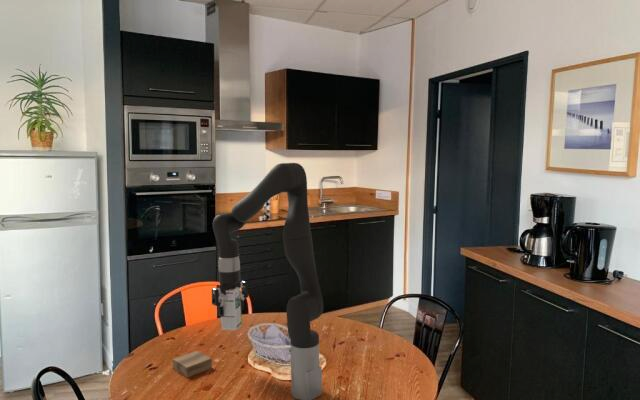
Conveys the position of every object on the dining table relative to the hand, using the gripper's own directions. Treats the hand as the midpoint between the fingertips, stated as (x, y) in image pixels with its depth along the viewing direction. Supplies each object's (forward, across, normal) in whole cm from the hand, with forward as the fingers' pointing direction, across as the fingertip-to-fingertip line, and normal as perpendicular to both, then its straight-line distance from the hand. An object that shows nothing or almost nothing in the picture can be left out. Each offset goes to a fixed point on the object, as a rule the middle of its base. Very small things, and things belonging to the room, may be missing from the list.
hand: (231, 313), depth 170 cm
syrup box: (+5, 0, 0) cm, 5 cm away
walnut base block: (+21, -10, +11) cm, 26 cm away
